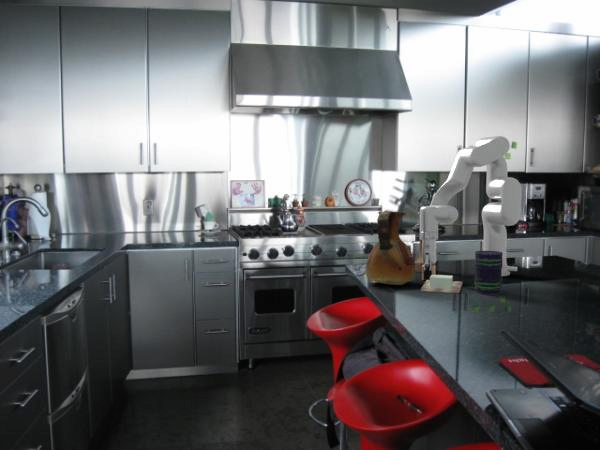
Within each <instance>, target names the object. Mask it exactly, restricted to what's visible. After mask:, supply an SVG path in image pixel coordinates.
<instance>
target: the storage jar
mask: <svg viewBox="0 0 600 450" xmlns="http://www.w3.org/2000/svg"><path fill="white" fill-rule="evenodd" d="M502 255H503V253H502V252H498V251H483V250H476V251H475V252H474V267H475V275H474V278H473V279H474V293H475V294H480V295H484V296H485V295H488V296H492V295H493V296H496V295H502V293H503V290H502V289H503V277H502V276H501V275H502V266H503V265H502V263H503V260H502Z"/></svg>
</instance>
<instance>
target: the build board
mask: <svg viewBox="0 0 600 450" xmlns="http://www.w3.org/2000/svg"><path fill="white" fill-rule="evenodd" d="M462 286H463V281H457V280H455V281H454V280H453V286H452V289H443V288H430V280H426V281H424V283H423V285H422V286H421V288H420V291H421V292H433V293H449V294H453V293H454V294H460V293H461V289H462Z"/></svg>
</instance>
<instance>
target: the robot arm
mask: <svg viewBox="0 0 600 450" xmlns="http://www.w3.org/2000/svg"><path fill="white" fill-rule="evenodd" d="M510 143H511V142H510V141H509V140H508V138H507V137H505V136H503V135H497V136H489V137H482V138H479V139H477V140H476V141H475V142H474V146H470V147H465V148H461V149H460V150H459V151H458V152H457V154H456V157H455V160H454V162H453V164H452V167H451V169H450V171H449V174H448V177H447V179H446V181H445V182H444V183H443V184H442V185H441V186H440V187H439V188H438V189H437V191H436V192H435V193H434V195H433V197H432V200H431V202H430V205H424V206H421V207H420V208H419V240H420V239H421V240H422V261H423V263H424V280H430V276H431V275H432V270H431V265H435V263H436V262H437V240H439V224H440V223H441V224H452V223H454V222H456V221H457V220H458V218H459V211H458V209H457V208H456V207H454V206H453V205H448V203H449V201H450V200H451V199H452V197H454V196H455V195H456V194H457V193H459V192H461V191H463V190H464V189H466V188H467V186H468V185H469V181H470V178H471V176H472V174H473V171H474V168H481V167H484V166H485V167H486V184H485V192H486V195H487V197H488V198H489V199H493V200H501V201H500V202H497V201H496V202H489V203H487V204H486V205H484V207H483V208H482V210H481V220H482V224H483V227H482V228H483V250H482V251H498V252H502V253H503V255H502V260H503V263H502V265H503V266H502V275H501V277H508V276H510V275H511V272H518V266H510V265H508V263H507V246H508V245H507V244H508V243H507V241H508V240H507V239H508V237H507V236H508V233H507V229H506V226H507V227H510V226H515V225H516V224H518V222H519V220H520V218H521V214H522V198H523V197H522V195H523V193H522V185H521V183H520V182H519V180H517V178H514V177H512V176H511V177H510V176H509V177H508V162H507V160H506V158H505V155H507V154H508V153H509V150H510V147H511V144H510ZM429 265H430V266H429Z"/></svg>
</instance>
